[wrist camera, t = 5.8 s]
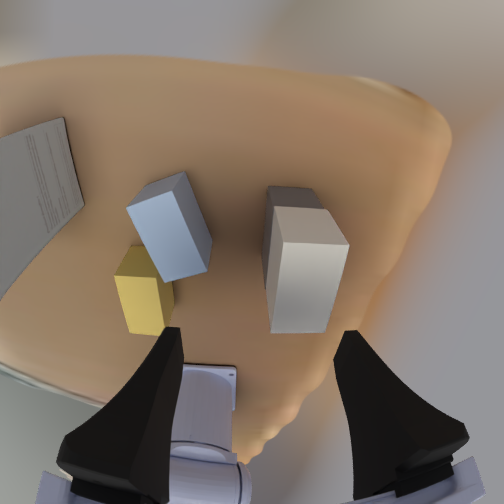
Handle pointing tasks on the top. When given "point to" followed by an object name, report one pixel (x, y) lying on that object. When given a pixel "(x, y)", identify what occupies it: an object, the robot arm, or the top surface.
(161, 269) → the blue brick
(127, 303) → the mustard brick
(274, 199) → the charcoal brick
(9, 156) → the supplement box
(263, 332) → the top surface
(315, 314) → the light grey brick
